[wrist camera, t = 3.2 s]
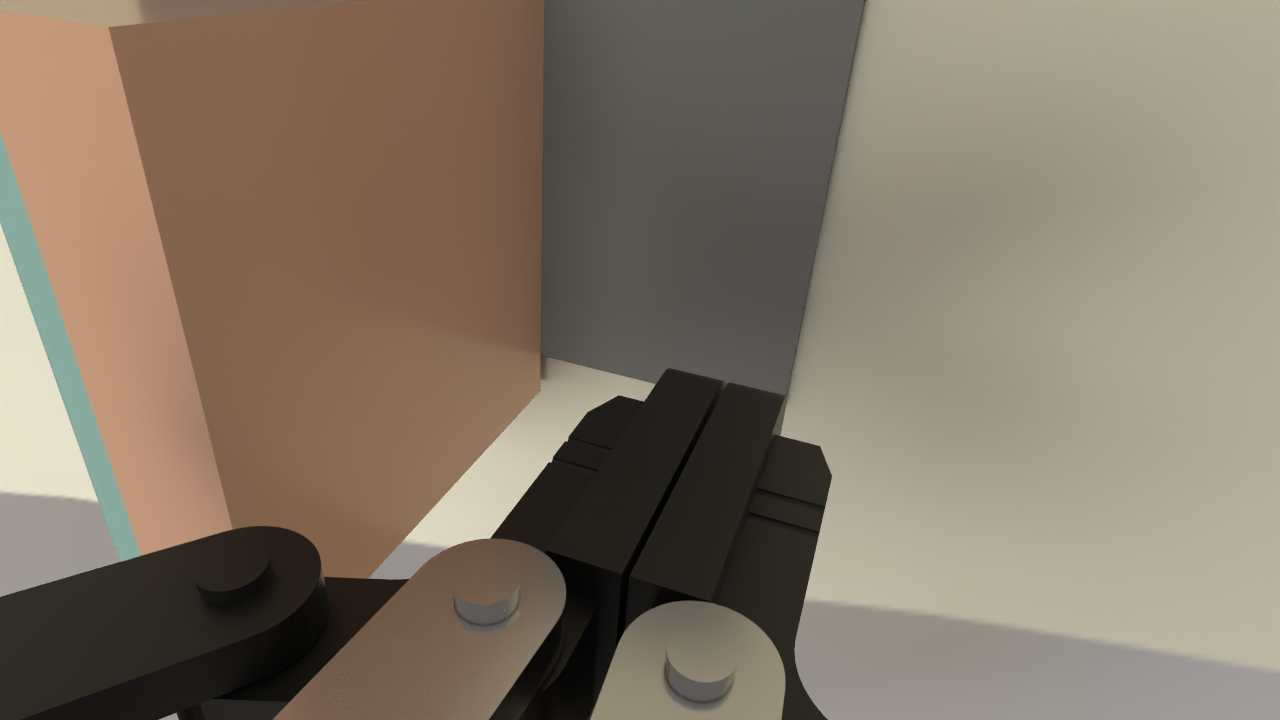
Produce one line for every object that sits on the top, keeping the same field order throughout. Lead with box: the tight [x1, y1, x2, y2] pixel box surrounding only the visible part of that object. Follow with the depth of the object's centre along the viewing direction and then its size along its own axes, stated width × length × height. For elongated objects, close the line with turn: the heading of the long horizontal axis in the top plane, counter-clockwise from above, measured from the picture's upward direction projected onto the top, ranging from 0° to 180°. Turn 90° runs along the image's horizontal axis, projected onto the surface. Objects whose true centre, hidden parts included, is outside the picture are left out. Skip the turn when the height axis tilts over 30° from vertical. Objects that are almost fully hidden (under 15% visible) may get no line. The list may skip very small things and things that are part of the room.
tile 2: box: [0, 0, 544, 579], centre depth 13 cm, size 2×9×9 cm, turn 176°
